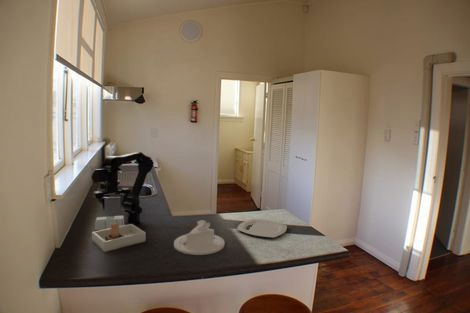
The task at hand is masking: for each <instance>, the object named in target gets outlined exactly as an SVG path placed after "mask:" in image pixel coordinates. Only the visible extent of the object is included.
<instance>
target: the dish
mask: <svg viewBox="0 0 470 313" xmlns="http://www.w3.org/2000/svg"><path fill="white" fill-rule="evenodd" d="M196 222H197V223H196V224H197V225H196V226H195V227H194V228H193V229H192V230H191V231H190V232H189V233H186V234H183V235H181V236H179V237H177V238H175V239H174V241H173V247H174V249H175V250H176V251H178V252H180V253H183V254H187V255H193V256H194V255H195V256H204V255H205V256H206V255H209V254H210V255H211V254H215V253H217V252H220V251H221V250H223V249H224V247H225V244H226V242H225V240H224V238H222V237H221V236H219V235H218V234H215V229H212V228H209V227H210V226H211V222H207V221H206V220H203V219H201V220H198V221H196ZM214 238H215V239H214Z"/></svg>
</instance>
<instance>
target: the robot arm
mask: <svg viewBox="0 0 470 313" xmlns="http://www.w3.org/2000/svg"><path fill="white" fill-rule="evenodd" d="M133 161H135V162H136V164H137V170H138V171H137V172H138V173H137V175H136V177H135V181H134V184H133V186H132V189H131V188H128V187H122V188H120V189H119V185H120V183H119V172H121V171H122V169H121V168H120V167H122V165H123V164H125V163H129V162H133ZM153 167H154V161H153V159H152V158H150V157H148V156H147V155H145V154H144V153H143V152H142V151H134V152H131V153H126V154H123V155H107V156H105V158H104V161H103V162H102V164H101V165H100V167H99V169H97V168H96V169H94V171H93V173H91V174H92V175H91V180H92V182H93V183H95V184H99V185H98V189H99V190H97V191H96V190H95V191H93V192H92V194H91V197H92V198H93V199H95V200H97V201H98V202H99V203H100V207H101V209H102V211H105V209H106V208H105V206H106V205H105V204H106V203H105V202H106V201H105V198H104V197H105V196H106V197H107V196H114V195H119V196H120V198H119V207H120V208H123V209H124V213H127V214H126V216H125V218H126V220H125V223H127V225H128V224H133V225H137V224H142V222H141V220H140V219H141V218H140V217H141V214H142V213H143V208H142V207H141V206H140V203H141V201H140V194H141V192H142V189H143V186H144V183H145V181H146V178H147V175H148V174H149V173H150V172H151V171H152V170H153ZM101 190H102V191H101Z"/></svg>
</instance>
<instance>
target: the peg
mask: <svg viewBox="0 0 470 313" xmlns="http://www.w3.org/2000/svg"><path fill="white" fill-rule="evenodd" d="M118 237H119V223H113V224H111V239H114V238H118Z"/></svg>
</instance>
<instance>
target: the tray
mask: <svg viewBox="0 0 470 313" xmlns="http://www.w3.org/2000/svg"><path fill="white" fill-rule="evenodd" d="M119 233H121V234H122V235H123V236H125V237H121V238H117V239H113V240H108V241H106V240H105V236H106V235H110V234H111V228H109V229H104V230H95V231H92V232H91V241H92V242H93V243H94V244H95V245H96V246H97V247H98V248H99V249H101V250H102V252H104V253H106V252H109V251H114V250H117V249H121V248H125V247H129V246H131V245H135V244H139V243H140V244H141V243H145V242H147V241H146V236H147V235H146V231H144V230H142V229H141V228H139V227H138V226H136V225H135V224H128V223H127V224H124V225H123V226H119Z"/></svg>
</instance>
